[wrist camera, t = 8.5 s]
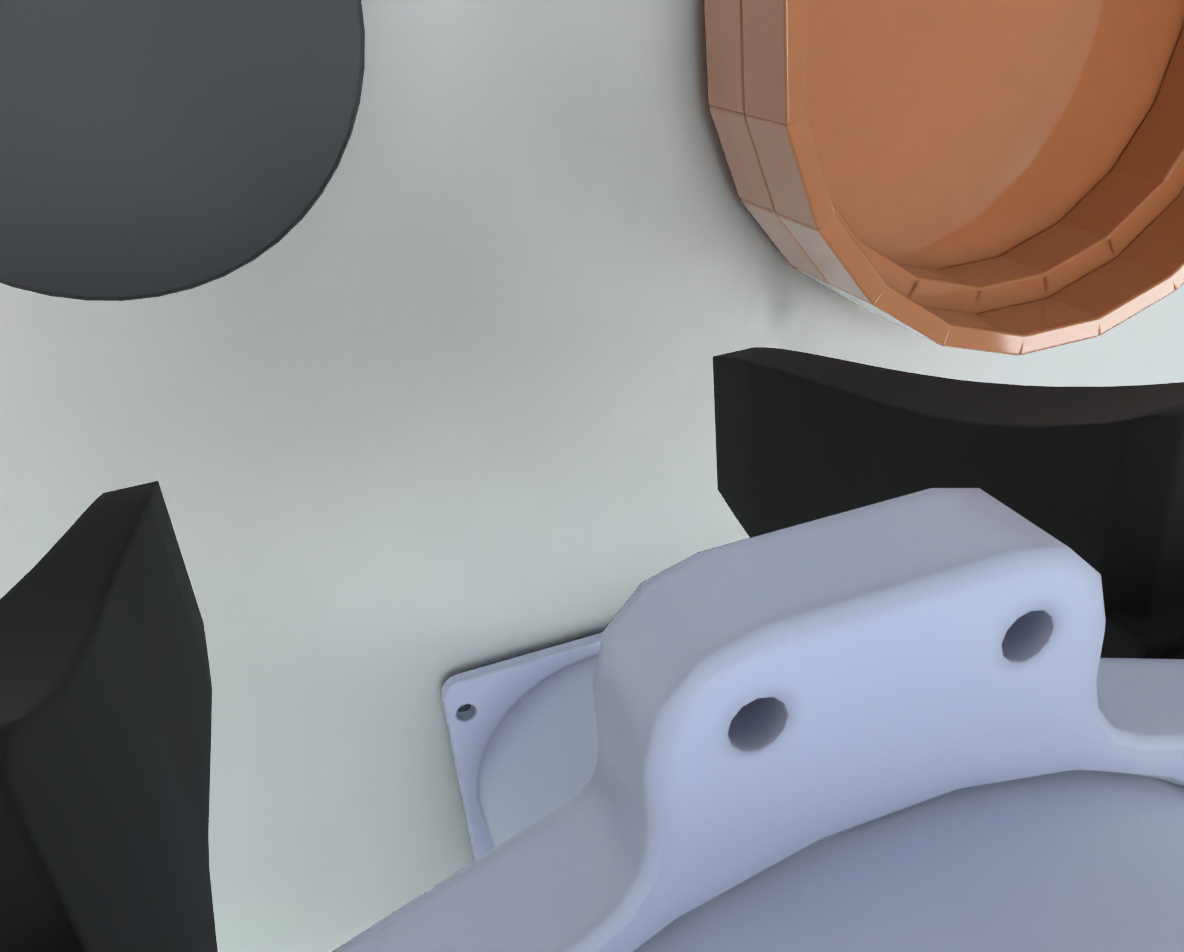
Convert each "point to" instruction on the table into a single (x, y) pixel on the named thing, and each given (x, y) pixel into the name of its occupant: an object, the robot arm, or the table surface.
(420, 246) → the table surface
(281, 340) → the table surface
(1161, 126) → the round terracotta dish
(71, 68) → the cap
